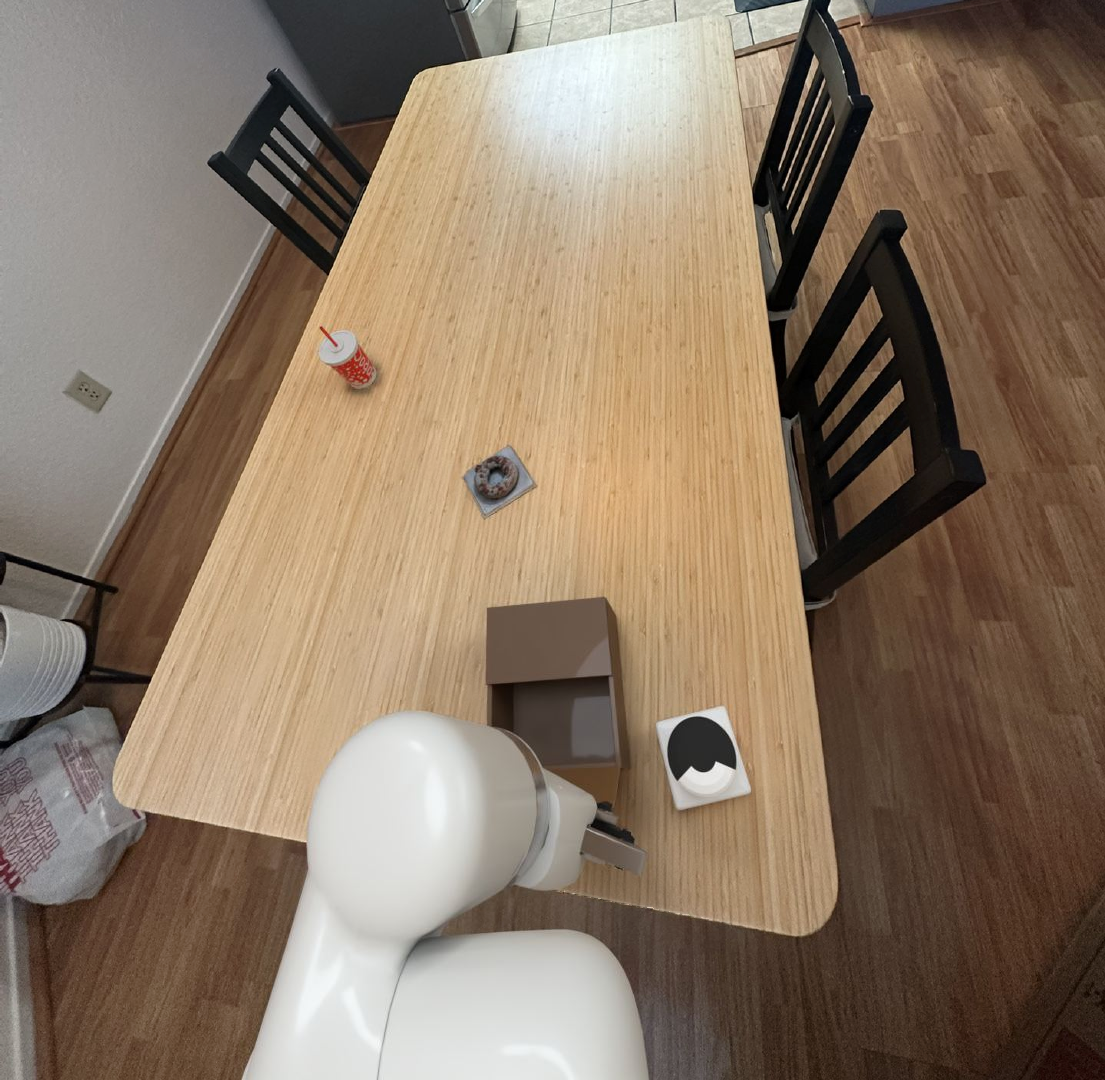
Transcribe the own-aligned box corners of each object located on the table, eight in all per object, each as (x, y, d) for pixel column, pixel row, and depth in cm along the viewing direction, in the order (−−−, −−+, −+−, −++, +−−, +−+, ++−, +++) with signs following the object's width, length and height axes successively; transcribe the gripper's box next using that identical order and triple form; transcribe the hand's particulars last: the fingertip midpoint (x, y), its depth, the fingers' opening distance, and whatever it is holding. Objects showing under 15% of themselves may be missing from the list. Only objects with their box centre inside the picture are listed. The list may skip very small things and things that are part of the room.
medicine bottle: (658, 725, 67) (650, 718, 57) (723, 710, 66) (726, 700, 57) (678, 807, 63) (674, 814, 53) (747, 791, 62) (756, 795, 53)
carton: (630, 768, 65) (620, 768, 57) (510, 774, 67) (483, 775, 59) (616, 615, 74) (605, 595, 65) (510, 624, 75) (486, 606, 67)
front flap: (619, 765, 57) (620, 770, 57) (484, 773, 59) (484, 778, 59) (614, 803, 50) (614, 809, 50) (460, 810, 52) (460, 816, 52)
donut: (511, 443, 89) (507, 437, 88) (536, 486, 85) (533, 480, 83) (460, 474, 88) (456, 468, 86) (484, 519, 84) (479, 514, 82)
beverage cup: (366, 398, 99) (323, 350, 88) (338, 386, 101) (292, 338, 90) (388, 367, 101) (348, 316, 90) (359, 356, 104) (318, 306, 93)
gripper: (314, 815, 35) (424, 804, 49) (607, 984, 29) (638, 917, 42) (379, 673, 38) (464, 700, 52) (651, 797, 32) (666, 791, 46)
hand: (542, 798), depth 47 cm, fingers open, 9 cm apart
